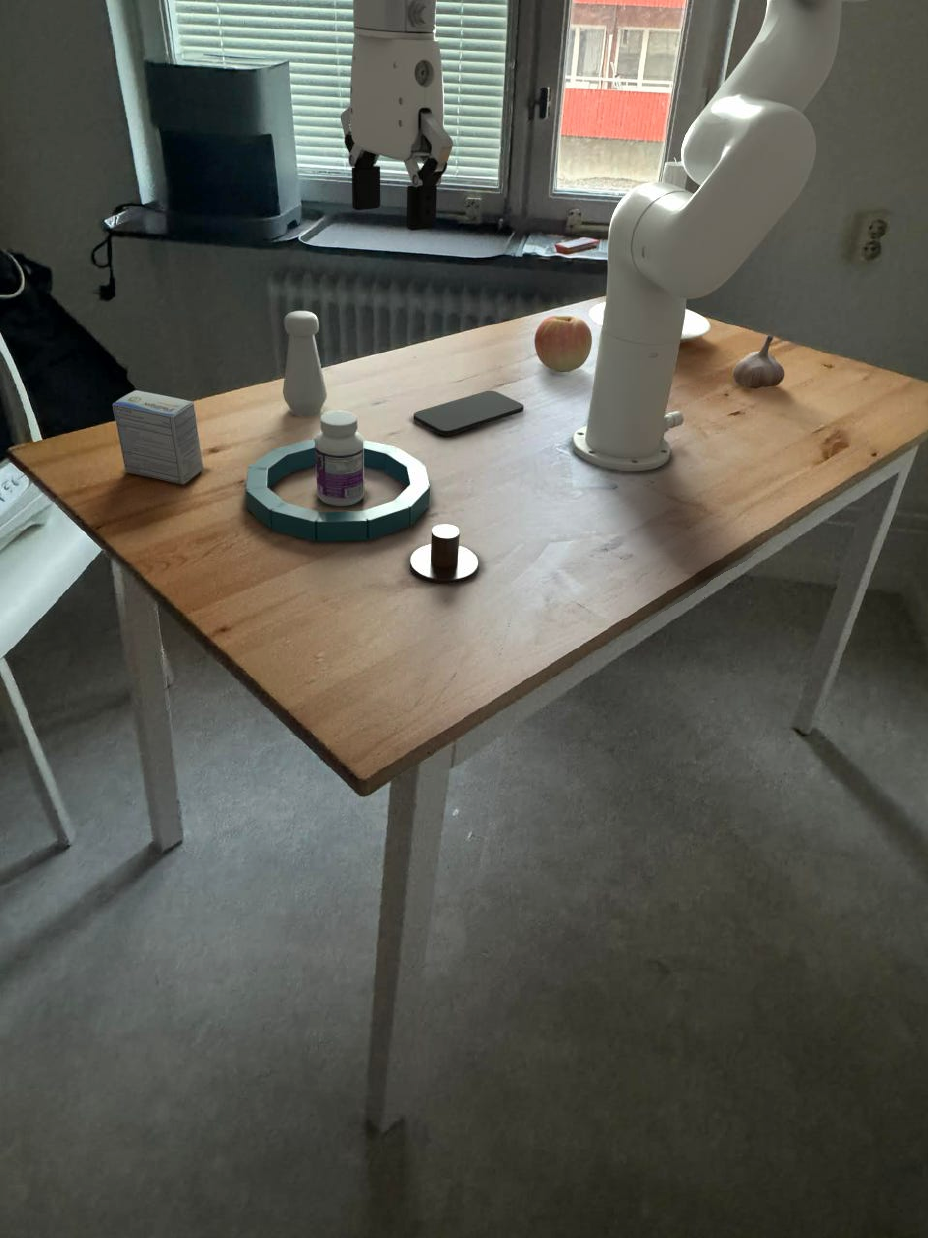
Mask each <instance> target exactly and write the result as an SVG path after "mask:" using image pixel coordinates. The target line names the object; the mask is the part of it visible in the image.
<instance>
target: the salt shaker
mask: <svg viewBox="0 0 928 1238" xmlns="http://www.w3.org/2000/svg"><path fill="white" fill-rule="evenodd" d="M283 323H284V329H285V332H286V333H287V334H289V338H288V346H287V353H286V354H287V355H286V361H285V371H284V379H283V388H282V394H283V395H282V396H283V398H284V401H285V402H286V405H287V406H288V408H289V410H290V411H291V413H292V414H293V415H294V416H297V417H298V416H299V417H305V418H308V417H312V416H316V415H317V416H318V415H320V412H321V410H322V408H323V406H324V405H325V402H326V400H327V397H328V392H327V389H326V384H325V380H324V375H323V370H322V366H321V361H320V356H319V351H318V346H317V341H316V337H315V336H316V334H317V333H318V332H319V329H320V325H319V323H320V322H319V319H318V317H317V315H316V313H313V312H311V311H307V310H295V311H291V312H289V313H287V315H286V316H284V322H283Z"/></svg>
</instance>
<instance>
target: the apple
mask: <svg viewBox="0 0 928 1238" xmlns="http://www.w3.org/2000/svg"><path fill="white" fill-rule="evenodd" d="M592 336H593V335H592V332H591V329H590V326H589V325H588V323H586V322H585V321H584V320H582V318H579V317H577V316H571V315H570V316H569V315H552V316H548V317H547V318H545V319H543V320H542V322H540V324H539V325H538V327H537V329H536V331H535V333H534V339H533V340H534V342H533V343H534V348H535V353H536V355H537V357H538V360H539V361H540V362H541V363H542V364H543V365H544V366H545V367H546V368H548V369H549V370H551V371H553V372H556V373H569V372H572V371H574V370H577V369H579V368H581V366H583V365H584V364H585V362H586V361H587V359H588V358H589V356H590V354H591V350H592V345H593V344H592V343H593V337H592Z"/></svg>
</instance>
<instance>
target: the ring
mask: <svg viewBox="0 0 928 1238" xmlns="http://www.w3.org/2000/svg"><path fill="white" fill-rule="evenodd" d="M315 439H316V438H314V439H313V438H312V439H311V438H310V439H308V440H303V441H300V442H294V443H291V444H288V445H284V446H280V447H276V448H273V449H271V450H270V451H269V452H267V453H266V454H265V455H263V456H262V457H260V458H259V459H257V460H256V461H254V462H253V463H252V464H250V465H248V467H247V474H246V482H245V483H246V484H245V495H246V496H245V497H246V504H247V505H246V506H247V510H248V511H249V512H251V513H252V514H253V515H254V516H255V517H256V518H257V519H258V520H259V521H260V522H262V523H263V524H264V525H265V526H266V527H268V528H269V529H270V530H272V531H274V532H278V533H282V534H286V535H289V536H293V537H297V538H301V539H304V540H308V541H312V542H318V543H321V542H322V543H323V542H324V543H325V542H326V543H327V542H357V541H358V542H359V541H360V542H361V541H371V540H374V539H377V538H380V537H382V536H385V535H388V534H391V533H395V532H398V531H400V530H403V529H406V528H409V527H411V526H412V525H413V524H414V522H415V521H417V520H418V518H419V517H420V516H421V515H422V514H423V513H424V512H425V510H426V509H427V508H428V507H429V506H430V499H431V484H430V479H429V477H428V472H427V468H426V465H425V464H424V463H423V462H421V461H420V460H419V459H416V458H415V457H414V456H412V455H410V454H409V453H407V452H406V451H404V450H403V449H401V448H400V447H398V446H392V445H389V444H384V443H381V442H376V441H371V440H366V439H363V442H364V468H370V469H375V470H377V471H382V472H386V473H387V474H389V475H390V476H392V477H393V478H395V479H396V480H398V481H399V482H401V483H402V484H403V485H405V486H406V488H405V489H404V490H403V491H402V492H401V493H400V494H399V495H398V496H397V497H396V498H395V499H394V500H392V501H389V502H385V503H383V504H379V505H376V506H373V507H369V508H367V509H363V510H355V511H354V510H351V511H349V510H347V511H345V510H343V511H319V510H316V509H311V508H306V507H303V506H300V505H296V504H292V503H288V502H285V501H284V500H283V499H282V498H280V496H278V495H277V494H276V493H275V492H274V491H272V490H271V489H270V488H271V487H272V486H273V485H275V484H276V483H277V482H278V481H280V480H281V479H282V478H284V477H285V476H286V475H288V474H289V473H294V472H296V471H301V470H305V469H308V468H311V467H316V454H315Z"/></svg>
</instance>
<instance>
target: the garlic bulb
mask: <svg viewBox="0 0 928 1238" xmlns="http://www.w3.org/2000/svg"><path fill="white" fill-rule="evenodd" d="M773 340H774V336H773V334H772V335H771V334H768V335H767V336H766V339H765V341H764V343H763V345H762V347H761V348H760V351H753V352H750V353H748V354H747V355H746V356H745V357H744V358H742V359H741V360H739V361H738V362H736V364H735V365H734V366H733V371H732V378H733V381H734V382H735V383H736V384H737V385H739V386H742V387H745V388H747V389H750V390H752V389H754V390H757V389H760V388H770V387H777V386H778V385H780V384H781V383H782V382H783V380H784V378H785V369H784V367H783V366H782V365H781V363H779V362H778V360H777V359H776V357H775V356H773V355H772V354H771V353H769V349H770V345H771V343H772V342H773Z"/></svg>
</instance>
